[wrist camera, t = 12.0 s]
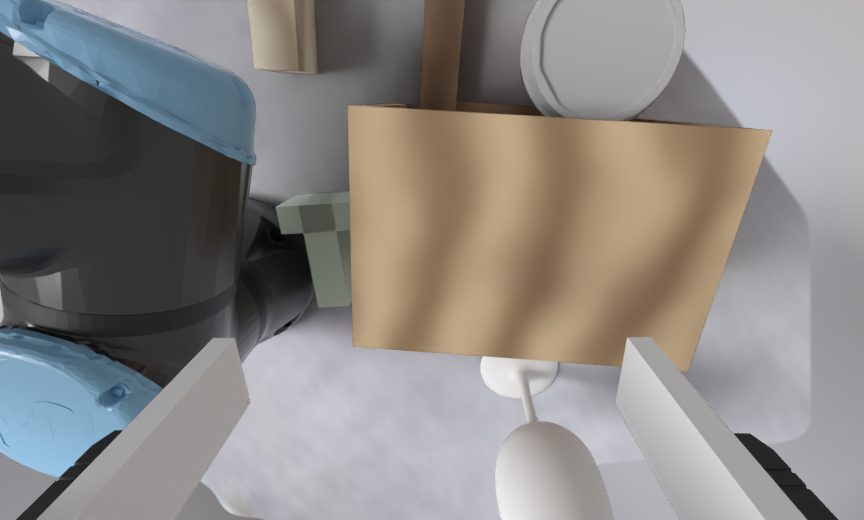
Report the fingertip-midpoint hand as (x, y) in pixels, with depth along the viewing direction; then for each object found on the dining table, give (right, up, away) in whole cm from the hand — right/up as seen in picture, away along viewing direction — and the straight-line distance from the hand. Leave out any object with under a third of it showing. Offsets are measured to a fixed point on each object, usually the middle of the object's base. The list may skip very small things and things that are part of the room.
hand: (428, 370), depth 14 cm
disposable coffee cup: (+11, +20, +21) cm, 31 cm away
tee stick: (-9, +6, +28) cm, 30 cm away
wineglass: (+10, -8, +32) cm, 35 cm away
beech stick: (-11, +26, +20) cm, 35 cm away
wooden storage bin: (+7, +10, +25) cm, 28 cm away
